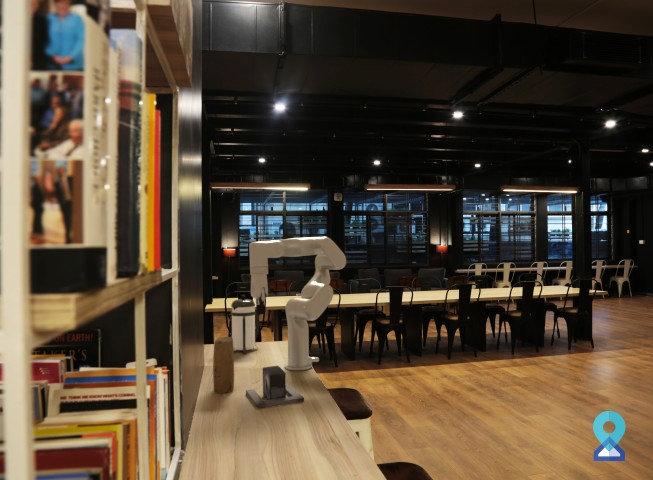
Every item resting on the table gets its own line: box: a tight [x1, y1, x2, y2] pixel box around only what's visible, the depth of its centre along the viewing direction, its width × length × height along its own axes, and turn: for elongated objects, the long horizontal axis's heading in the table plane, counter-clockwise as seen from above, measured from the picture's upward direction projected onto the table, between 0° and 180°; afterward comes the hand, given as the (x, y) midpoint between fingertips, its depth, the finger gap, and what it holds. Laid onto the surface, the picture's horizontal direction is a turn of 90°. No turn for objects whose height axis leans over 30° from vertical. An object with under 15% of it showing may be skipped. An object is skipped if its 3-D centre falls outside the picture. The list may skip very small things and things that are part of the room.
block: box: [212, 336, 235, 394], centre depth 174 cm, size 11×8×20 cm
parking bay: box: [245, 384, 305, 410], centre depth 164 cm, size 17×17×2 cm
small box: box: [262, 365, 287, 400], centre depth 164 cm, size 11×6×10 cm, turn 22°
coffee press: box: [230, 294, 260, 355], centre depth 242 cm, size 17×16×30 cm
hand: (260, 313), depth 191 cm, fingers closed
